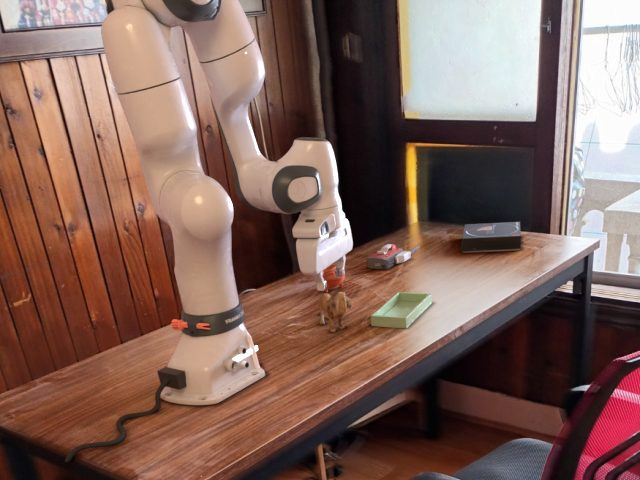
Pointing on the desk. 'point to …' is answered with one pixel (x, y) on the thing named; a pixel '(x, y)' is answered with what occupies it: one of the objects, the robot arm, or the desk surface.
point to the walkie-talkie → (389, 257)
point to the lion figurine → (334, 308)
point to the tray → (401, 310)
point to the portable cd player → (491, 237)
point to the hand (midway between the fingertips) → (331, 282)
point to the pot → (332, 277)
